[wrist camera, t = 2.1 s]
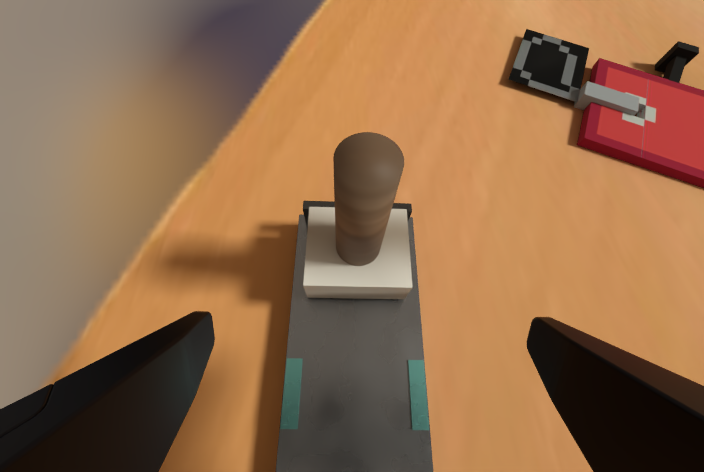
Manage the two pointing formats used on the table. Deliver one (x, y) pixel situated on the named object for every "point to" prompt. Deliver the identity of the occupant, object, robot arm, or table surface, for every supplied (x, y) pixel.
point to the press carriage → (360, 226)
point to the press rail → (354, 379)
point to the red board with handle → (624, 104)
